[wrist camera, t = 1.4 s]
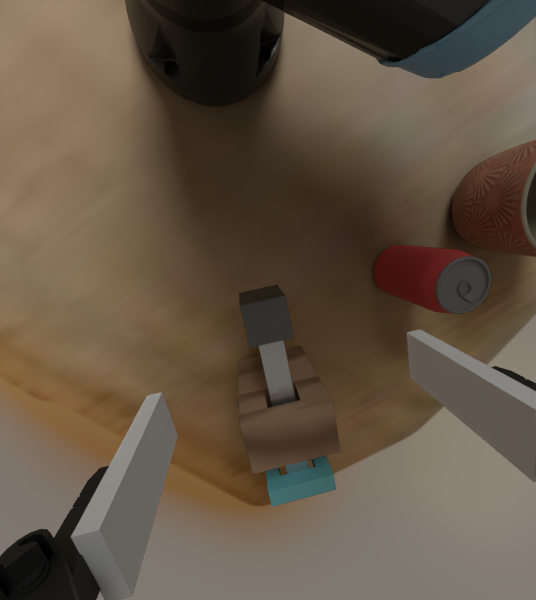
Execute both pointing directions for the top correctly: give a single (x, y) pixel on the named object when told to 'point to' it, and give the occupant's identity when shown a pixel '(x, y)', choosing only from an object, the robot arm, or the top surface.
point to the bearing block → (285, 415)
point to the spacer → (300, 482)
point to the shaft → (271, 343)
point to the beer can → (433, 277)
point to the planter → (499, 202)
